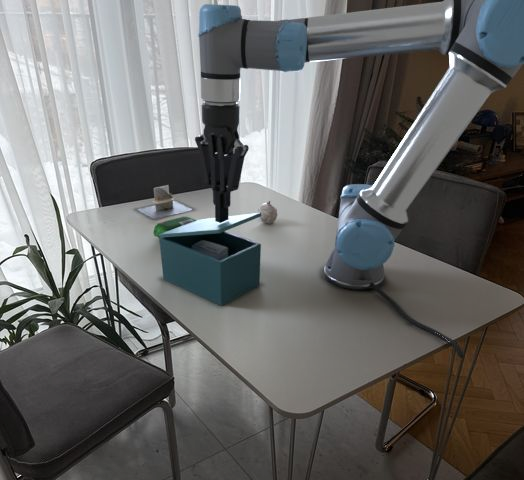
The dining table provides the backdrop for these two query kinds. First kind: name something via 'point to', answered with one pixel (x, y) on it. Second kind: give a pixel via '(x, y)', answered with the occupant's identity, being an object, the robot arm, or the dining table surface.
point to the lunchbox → (212, 266)
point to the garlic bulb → (267, 213)
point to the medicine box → (211, 249)
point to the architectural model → (163, 204)
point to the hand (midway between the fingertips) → (221, 220)
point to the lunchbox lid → (209, 226)
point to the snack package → (171, 224)
